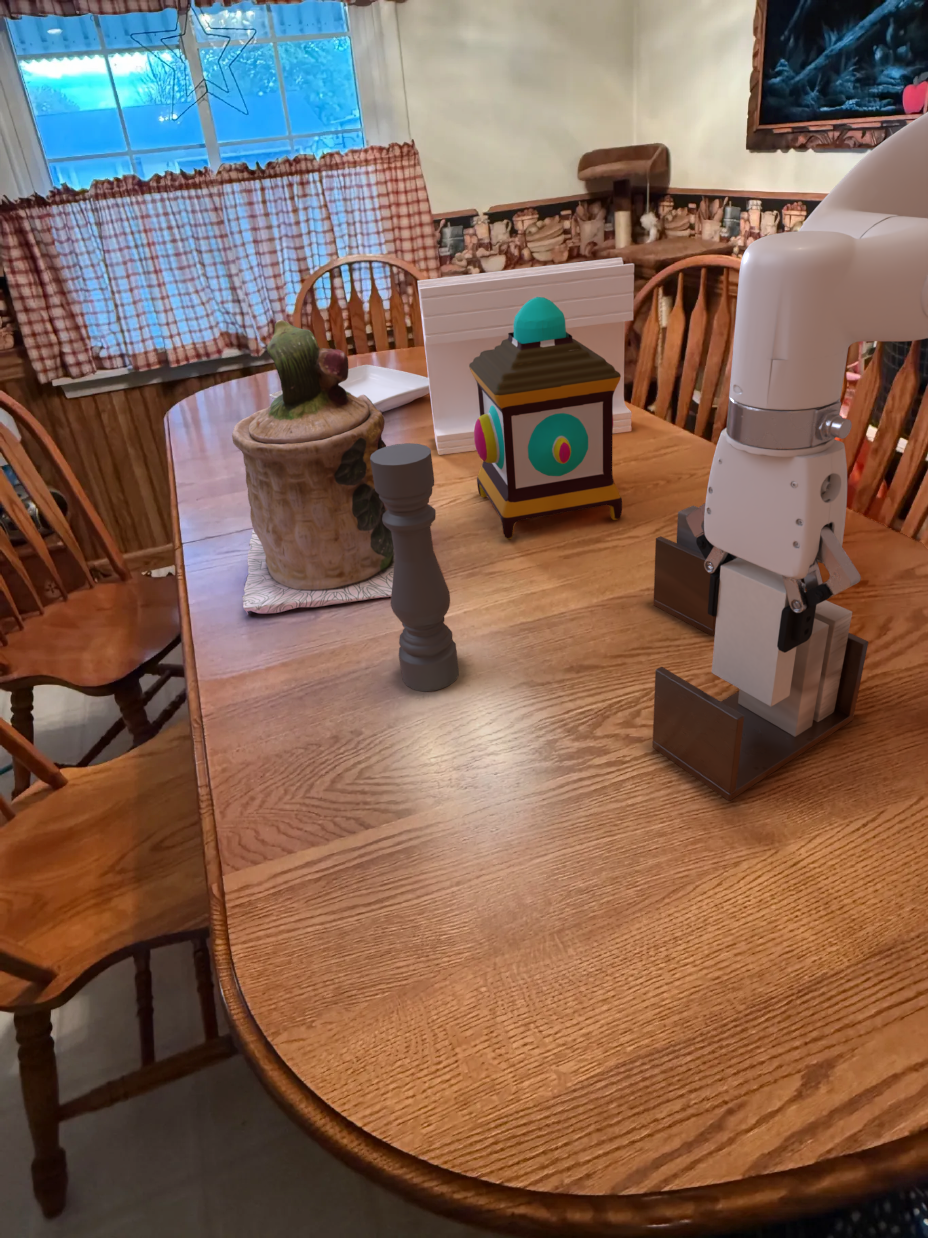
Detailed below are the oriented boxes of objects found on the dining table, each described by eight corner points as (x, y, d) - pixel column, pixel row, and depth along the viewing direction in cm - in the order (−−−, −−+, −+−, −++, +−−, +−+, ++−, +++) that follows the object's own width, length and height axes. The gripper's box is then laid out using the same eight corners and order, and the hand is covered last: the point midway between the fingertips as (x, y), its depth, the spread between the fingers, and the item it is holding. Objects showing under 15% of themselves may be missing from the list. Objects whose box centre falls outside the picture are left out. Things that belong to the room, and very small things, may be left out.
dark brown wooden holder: (749, 559, 104) (758, 471, 98) (810, 584, 97) (824, 492, 91) (653, 605, 97) (656, 513, 90) (712, 636, 90) (720, 539, 84)
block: (619, 417, 154) (620, 257, 140) (631, 431, 148) (634, 264, 133) (435, 440, 153) (417, 280, 138) (438, 454, 146) (420, 288, 131)
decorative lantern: (497, 547, 113) (480, 321, 97) (467, 494, 130) (448, 294, 114) (635, 522, 116) (639, 299, 100) (588, 474, 132) (586, 275, 117)
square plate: (270, 410, 179) (266, 392, 177) (369, 378, 194) (366, 362, 192) (341, 433, 161) (338, 413, 159) (444, 396, 176) (443, 378, 174)
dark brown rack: (773, 677, 83) (786, 574, 77) (853, 720, 76) (875, 612, 70) (651, 747, 76) (656, 640, 69) (729, 801, 69) (741, 689, 63)
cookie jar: (241, 623, 102) (169, 362, 85) (253, 539, 123) (197, 316, 106) (437, 592, 104) (404, 331, 87) (416, 514, 125) (387, 292, 108)
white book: (729, 663, 75) (740, 556, 69) (789, 695, 70) (806, 584, 64) (711, 673, 74) (720, 565, 68) (770, 707, 69) (786, 594, 63)
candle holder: (453, 692, 85) (426, 465, 72) (396, 690, 87) (359, 467, 74) (463, 658, 91) (439, 441, 78) (409, 657, 92) (377, 443, 79)
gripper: (926, 434, 55) (878, 654, 64) (723, 386, 68) (708, 576, 77) (856, 464, 52) (817, 692, 61) (657, 407, 64) (649, 603, 74)
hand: (756, 625), depth 69 cm, fingers closed on white book, 6 cm apart
